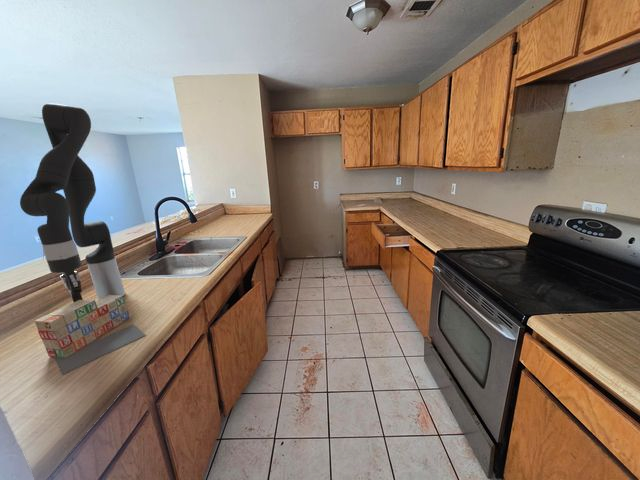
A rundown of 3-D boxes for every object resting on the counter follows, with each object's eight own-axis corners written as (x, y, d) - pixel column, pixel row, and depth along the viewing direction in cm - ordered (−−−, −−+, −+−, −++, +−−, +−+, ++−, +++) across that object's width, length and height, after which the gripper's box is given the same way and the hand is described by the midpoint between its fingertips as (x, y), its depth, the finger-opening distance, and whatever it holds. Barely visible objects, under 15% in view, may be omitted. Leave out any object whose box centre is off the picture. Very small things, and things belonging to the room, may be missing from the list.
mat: (54, 358, 76) (54, 358, 76) (133, 324, 91) (133, 324, 91) (63, 375, 69) (62, 374, 69) (146, 335, 84) (145, 334, 84)
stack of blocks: (116, 317, 96) (107, 287, 93) (130, 318, 95) (121, 287, 92) (48, 357, 76) (33, 320, 73) (64, 358, 75) (50, 321, 72)
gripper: (42, 255, 84) (59, 303, 89) (50, 262, 76) (68, 314, 81) (72, 249, 90) (87, 294, 95) (83, 255, 82) (98, 303, 87)
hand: (78, 303), depth 88 cm, fingers closed
